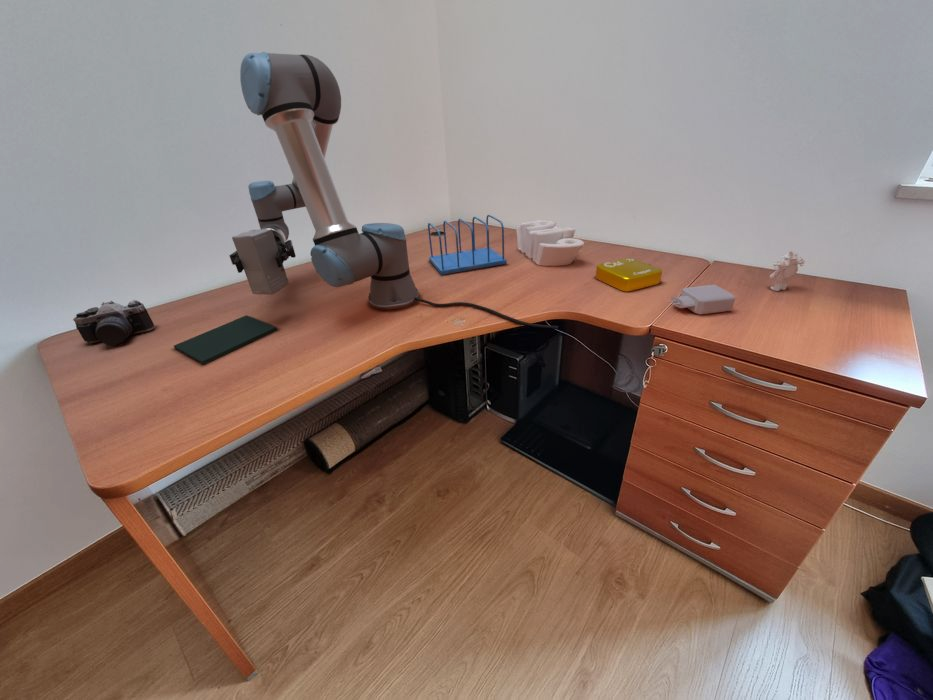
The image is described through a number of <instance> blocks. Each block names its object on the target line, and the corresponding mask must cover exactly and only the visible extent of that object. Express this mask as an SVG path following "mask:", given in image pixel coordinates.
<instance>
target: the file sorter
mask: <svg viewBox="0 0 933 700" xmlns="http://www.w3.org/2000/svg"><path fill="white" fill-rule="evenodd" d="M489 218H491V219H493V220H495V221H497V222H498V223H499V224H500V225H501V245H502V246H501V251H502V252H501V253H502V254H500V253H498V252H497V251H496V250H494V249H493V248H492V247H490V230H489ZM475 220H477V221H478V222H480V223H482V224H483V225H485V228H486V247H483V248H477V249H476V239H475V235H476V234H475ZM460 222H462V223H463V224H465V225H466V226H467V227H469V229H470V233H471V234H470V235H471V249H470V250H462V239H461V225H460ZM442 223H443V226H442V227H443V238H444V250H445V253H444V254H443V246H442V236H441V232H440V230H439V229H438V228H437V227H436V226H435V225H434V224H432V223H431V222H428V223H427V231H428V240H429V248H430V256H429V257H428V258H429V263H431V264H432V265H433V267H434V268H435V269H436V271H438V273H439V274H440V275H441V276H442V275H448V274H449V275H450V274H455V273H461V272H466V271H472V270H477V269H485V268H490V267H496V266H500V265H507V263H508V261H507V259H506V258H505V227H504V223H503V221H502V220H500V219H499V218H497V217H495V216H493V215H491V214H487V215H486V220H485V221H484V220H482V219H480V218H479V217H477V216H473V217H472V225H471V224H470V223H468V222H466V221H465V220H463V219H462V218H458V219H457V228H458V229H457V228H456V227H455V226H454V225H452V223H450V222H449V221H447V220H443V222H442ZM446 224H447V225H448V226H449V227H451V228H452V229H453V230H454V233H455V245H456V247H455V248H456V252H450V253H448V248H447V247H448V245H447V236H446ZM430 227H432V228H433V229H434V230H435V231H436V232H437V235H438V240H439V241H438V242H439V250H440V254H437V255H434V253H433V245H432V237H431V236H432V235H431V228H430Z"/></svg>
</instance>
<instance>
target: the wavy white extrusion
mask: <svg viewBox="0 0 933 700" xmlns="http://www.w3.org/2000/svg"><path fill="white" fill-rule="evenodd" d="M515 228H516V241H517V251H520V252H521V253H522V254H525V256H526V257H527V259H532V262H534V263H535V264H536V265H538V266H543V267H559V266H560V267H561V266H568V265H571V264H572V263H573V262H574V260H575V259H576V257H577V255H578V254H579V252H580V251H581V249H582V248H583V246H584V243H585V242H584V241H583V240H582V239H579V238H574V236H575V233H576V229H575V228H574V227H570V226H566V227H564V228H562V227H559V226H557V222H556V221H550V220H547V219H539V220H538V219H537V220H531V221H525V222H520V224H518V225H517V226H515Z"/></svg>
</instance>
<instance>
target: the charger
mask: <svg viewBox="0 0 933 700" xmlns="http://www.w3.org/2000/svg"><path fill="white" fill-rule="evenodd" d="M680 291H681V292H680V296H672V297H671V300H668V303H672V304H671V305H672V306H675V307H677V308H678V309H685V308H687V309H688V310H690V311H691V312H693V313H695V314H697V315H707V314H708V315H709V314H715V313H724V312H732V310H733V307H734V305H735V302H736V296H735V295H734V294H733V293H731V292H730V291H728V290H726V289H724V288H722V287H721V286H718V285H716V284H707V285H698V286H697V285H696V286H689V287H683V288H682V289H681V290H680Z"/></svg>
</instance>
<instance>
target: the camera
mask: <svg viewBox="0 0 933 700" xmlns="http://www.w3.org/2000/svg"><path fill="white" fill-rule="evenodd" d="M72 321H73V322H74V324H75V328H76V329H77V331H78V333H79V334H80V336H81V338H82V340H83V341H84V342H85V343H88V344H94V343H100V342H102V343H103V344H105V345H108V346H115V345H120V344H122V343H123V342H125V340H127V339H128V337H130V336H133V335H137V334H141V333H147V332H150V331H152V330H154V329H155V323H154V322H153V319H152V318H151V316H150V314H149V311H148V310H147V308H146V307H145V305H144V303H143V302H141V301H139V300H137V299H132V300H130V301H129V302H128V304H127V305H123V304H120V303H118V302H114V301H113V300H110V301H107V302H104V301H102V302H101V304H100V307H97V306H94V307H90V308H88V309H86V310H84V311H82V312H78V313H76V314H75V316H74V318H73V319H72Z"/></svg>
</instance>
